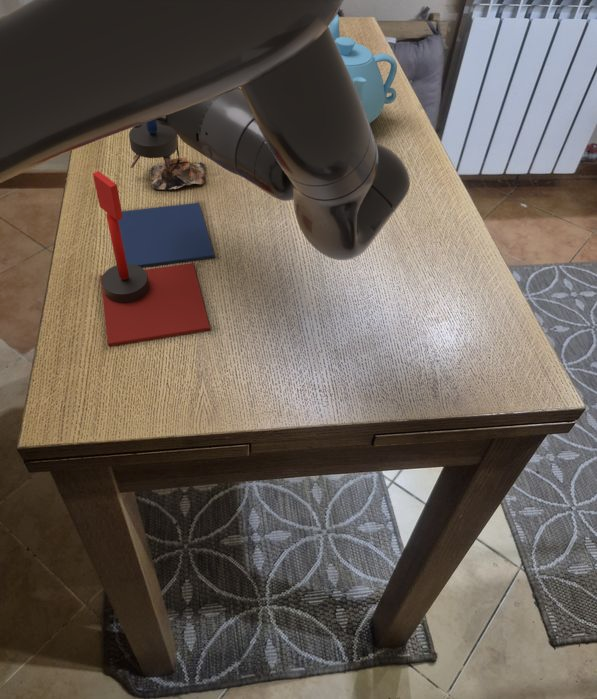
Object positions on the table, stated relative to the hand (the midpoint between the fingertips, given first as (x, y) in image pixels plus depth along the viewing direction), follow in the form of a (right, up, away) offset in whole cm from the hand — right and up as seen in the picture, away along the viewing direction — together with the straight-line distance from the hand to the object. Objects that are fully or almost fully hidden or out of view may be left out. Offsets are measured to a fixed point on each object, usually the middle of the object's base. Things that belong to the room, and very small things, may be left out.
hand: (129, 66), depth 69 cm
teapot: (+26, +9, +40) cm, 49 cm away
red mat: (+1, -26, +8) cm, 27 cm away
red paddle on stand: (-3, -24, +8) cm, 26 cm away
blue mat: (0, -16, +16) cm, 23 cm away
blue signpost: (+2, -7, +5) cm, 9 cm away
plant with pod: (-1, -5, +26) cm, 26 cm away
